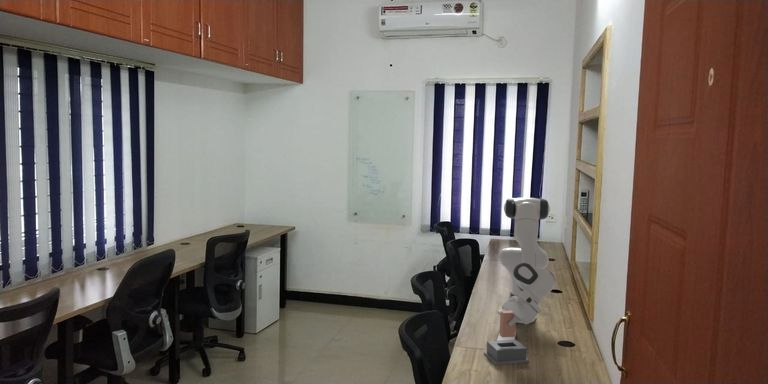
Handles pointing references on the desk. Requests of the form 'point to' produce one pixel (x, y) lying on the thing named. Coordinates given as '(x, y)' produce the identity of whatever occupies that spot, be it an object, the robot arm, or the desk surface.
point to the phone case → (505, 337)
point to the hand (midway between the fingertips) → (506, 323)
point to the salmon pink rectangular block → (504, 327)
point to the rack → (506, 352)
